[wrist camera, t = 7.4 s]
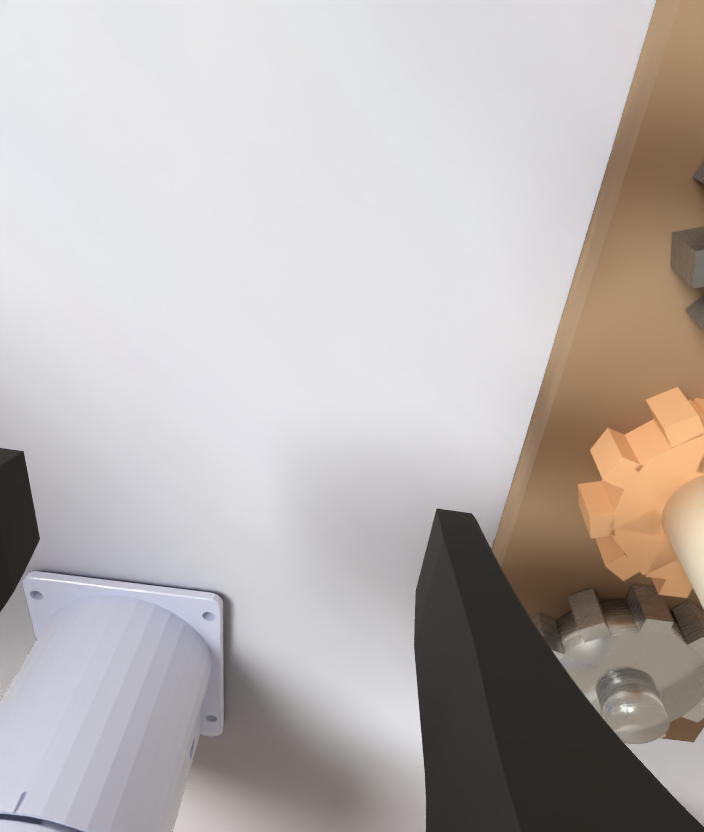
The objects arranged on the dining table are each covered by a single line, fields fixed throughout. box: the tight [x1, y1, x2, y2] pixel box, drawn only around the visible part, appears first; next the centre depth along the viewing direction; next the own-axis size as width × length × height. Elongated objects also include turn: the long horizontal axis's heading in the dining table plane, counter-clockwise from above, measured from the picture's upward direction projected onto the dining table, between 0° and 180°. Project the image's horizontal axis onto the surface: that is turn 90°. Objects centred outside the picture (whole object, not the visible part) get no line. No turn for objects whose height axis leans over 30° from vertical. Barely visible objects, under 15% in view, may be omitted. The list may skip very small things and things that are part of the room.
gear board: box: [492, 0, 704, 742], centre depth 20 cm, size 26×10×3 cm, turn 174°
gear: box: [532, 584, 704, 744], centre depth 23 cm, size 7×7×3 cm
